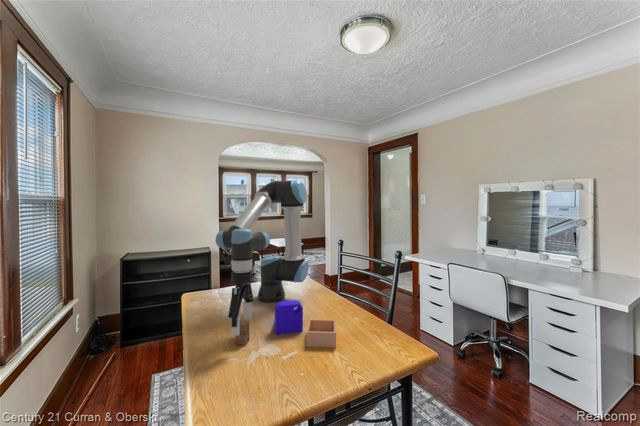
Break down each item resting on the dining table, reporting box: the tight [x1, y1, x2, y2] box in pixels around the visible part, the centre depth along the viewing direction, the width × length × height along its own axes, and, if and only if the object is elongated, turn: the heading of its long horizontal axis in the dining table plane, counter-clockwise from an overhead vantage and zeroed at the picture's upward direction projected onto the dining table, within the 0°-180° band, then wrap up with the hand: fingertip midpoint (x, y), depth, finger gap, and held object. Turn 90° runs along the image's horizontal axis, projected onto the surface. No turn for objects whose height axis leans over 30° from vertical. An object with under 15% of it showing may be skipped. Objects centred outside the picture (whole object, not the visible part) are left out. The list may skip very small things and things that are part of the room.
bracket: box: [274, 299, 304, 336], centre depth 118 cm, size 18×11×12 cm, turn 18°
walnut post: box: [234, 319, 250, 347], centre depth 102 cm, size 4×4×8 cm
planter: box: [305, 318, 337, 349], centre depth 105 cm, size 11×11×6 cm
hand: (241, 326), depth 102 cm, fingers open, 13 cm apart
